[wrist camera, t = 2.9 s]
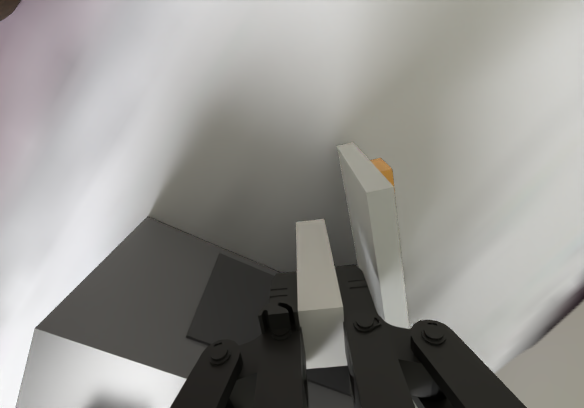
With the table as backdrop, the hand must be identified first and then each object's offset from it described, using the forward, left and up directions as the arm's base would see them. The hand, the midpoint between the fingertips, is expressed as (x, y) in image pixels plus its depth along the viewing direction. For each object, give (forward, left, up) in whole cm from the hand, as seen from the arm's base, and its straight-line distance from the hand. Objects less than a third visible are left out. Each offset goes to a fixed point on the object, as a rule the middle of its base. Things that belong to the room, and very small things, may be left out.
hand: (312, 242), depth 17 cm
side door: (0, -4, -4) cm, 6 cm away
